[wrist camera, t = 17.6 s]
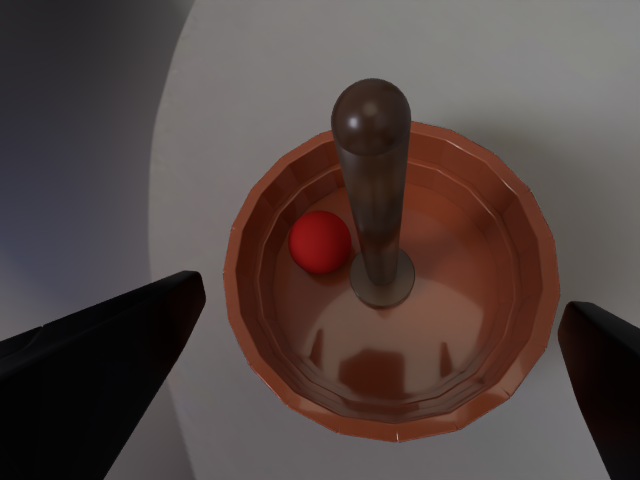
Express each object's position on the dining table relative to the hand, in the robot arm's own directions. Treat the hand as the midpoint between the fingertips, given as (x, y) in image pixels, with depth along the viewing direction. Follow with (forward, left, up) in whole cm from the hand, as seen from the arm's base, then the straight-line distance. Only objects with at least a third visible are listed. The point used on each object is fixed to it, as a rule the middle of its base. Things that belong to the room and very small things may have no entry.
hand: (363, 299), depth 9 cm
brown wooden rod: (+2, +1, -9) cm, 9 cm away
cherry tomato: (+1, +5, -8) cm, 9 cm away
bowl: (+2, +1, -10) cm, 10 cm away
